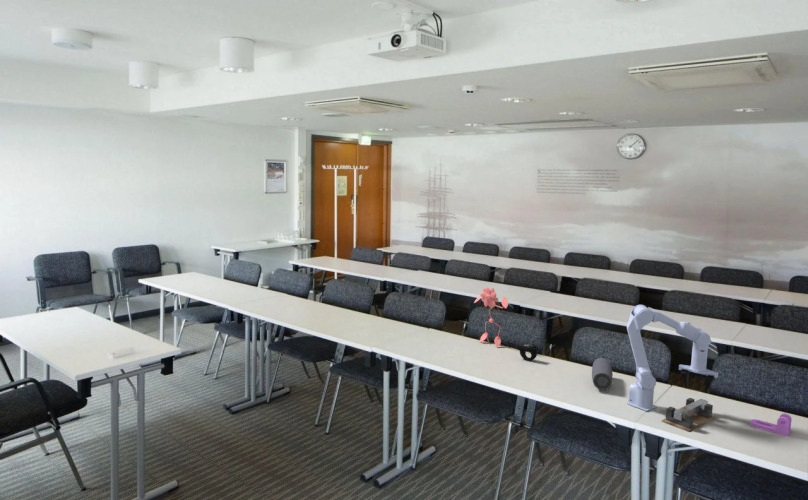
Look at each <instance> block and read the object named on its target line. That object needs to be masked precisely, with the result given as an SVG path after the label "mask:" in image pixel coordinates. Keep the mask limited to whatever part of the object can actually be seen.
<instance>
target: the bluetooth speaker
mask: <svg viewBox="0 0 808 500" xmlns="http://www.w3.org/2000/svg"><path fill="white" fill-rule="evenodd" d="M591 366H592V367H591V379H592V380H591V381H592V383H593V386H594V387H595V388H597V390H601V391H607V390H608V389H610V388H611V387H612V385H613V374H614V373H613V369H612V365H611V363H610V362H609V360H607V359H606V358H604V357H599V358H597V359H595V360H594V362H593V363H592V365H591Z"/></svg>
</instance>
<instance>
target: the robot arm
mask: <svg viewBox="0 0 808 500" xmlns="http://www.w3.org/2000/svg"><path fill="white" fill-rule="evenodd" d="M627 321H628V322H627V324H626V331H627V334H628V338H629V342H630V346H631V351H632V354H633V358H634V362H635V368H636V369H635V371H636V372H635V379H636V380H637V382H636V383H635V382H633V383H631V385H629V390H628V401H627V405H628V406H629V405H630V407H631V406H632V407H635V408H638V409H640V410H642V411H645V412H649V411H651V410H653V409H655V408H657V405H655V404H654V396H655V386H656V385H657V380H656V378H655V377H654V376H653V374H652V371H651V368H650V365H649V362H648V358H647V354H646V350H645V346H644V341H643V338H642V334H641V330H643V328H644V327H645V326H647V325H648V324H650V323H657V322H658V323H661V324H664V325H665V326H669V327H671V328H672V329H675V333H676V334H677V335H679V336H682V337H683V338H686V339H688V340H689V341H692V348H691V362H690V365H686V364H679V365H678V370H679V371H680V374H681V376H682V377H681V378H682V379H683V383H684V388H685V389H688V387H689V380H690V379H689V378H690V373H695V374H700V375H703V376H706V377H705V388H704V389H705V390H704V393H705V394H707V393H708V392H709V389H710V387H711V385H712V383H713V381H714V379H715V378H716V379H717V378H718V377H719V372H717V371H713V370H710V369H708V368H707V362H708V352H709V345H710V344H711V343H712V339H711V337H710V334H708V333H707V332H706V331H705V330H703V329H701V328H700V327H695V326H693V325H692V324H691V323H690V322H689V321H684V320H683V321H677V320H675V319H674V318H671V317H670V316H668V315H666V314H664V313H662V312H661V311H659V310H656V309H654V308H653V307H649V306H648V307H647V306H646V305H644V304H637V305H635V306H634V307H633V308H632V309H631V310H630V315H629V318H628V320H627Z"/></svg>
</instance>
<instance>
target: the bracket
mask: <svg viewBox="0 0 808 500" xmlns="http://www.w3.org/2000/svg"><path fill="white" fill-rule="evenodd" d="M792 420H793V419H792V417H791V415H790V414H788V413H782V414H780V415H779V417H778V419H777V421H776V422H777V423H775V424H774V423H772V422H768V421H764V420H760V419H756V418H755V419H751V420H750V425H751V426H752V427H754V428H757V429H760V430H764V431H768V432H771V433H774V434H779V435H781V436H785V437H788V436H789V434H790V432H791V428H792Z"/></svg>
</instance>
